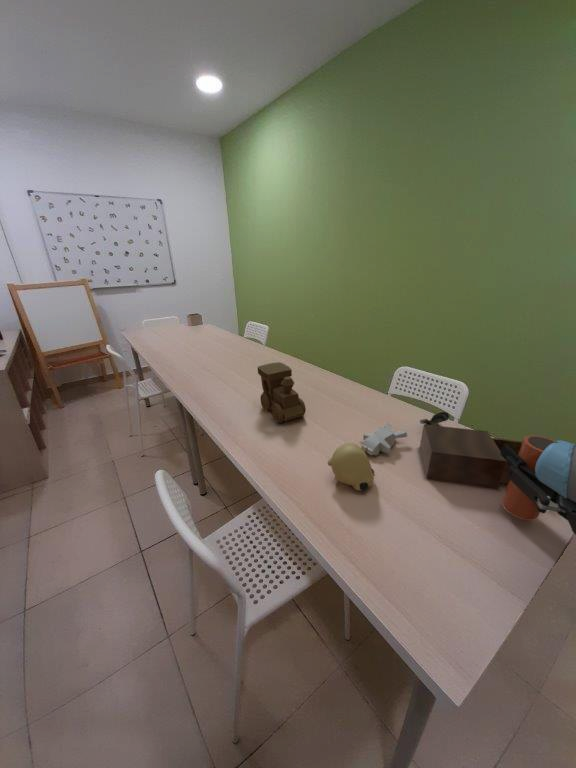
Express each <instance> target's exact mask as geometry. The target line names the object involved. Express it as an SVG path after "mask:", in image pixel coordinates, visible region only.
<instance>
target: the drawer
mask: <svg viewBox="0 0 576 768" xmlns="http://www.w3.org/2000/svg"><path fill="white" fill-rule="evenodd" d="M492 439H493V440H494V442H495V444H496V445H497V447H498V448H499V450H500V451H501V450H502V447H503V444H507V445H508V446H509V447H510V448H511V449H512V450H513V451H514V452H515V453H516V454H519V451H520V448H521V445H522V442H523V440H519V439H510V438H500V437H492ZM508 470H509V466H508V465H507V464H506V465H505V468H504V471H503V474H502V477H501V480H500V483H504V484H508V482H509V480H510V479H509V478H508V477H507V473H508Z"/></svg>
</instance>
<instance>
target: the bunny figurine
mask: <svg viewBox="0 0 576 768" xmlns="http://www.w3.org/2000/svg"><path fill="white" fill-rule="evenodd" d="M392 428H393V424H391V423H390V422H389V423H388V422H387V423H386V424H385V425H384V426H383V427H382V426H380V427H378V428H377V429H375V430H374V433H368V432H365V433H363V435H362V436H363V437H362V438H363V439H362V440H363V443H362V444H361V446H360V447H361V448H362V450H363V451H364V452H365V453H366V452H367V454H369V455H370V456H378V455H379V454H380V452H381V453H384V454H388V455H389V454H390V453H391V452H392V447H393V445H394V444H395V441H396V439H401V438H402V439H403V438H407V437H408V433H407V431H406V430H404V429H401V430H398V431H395V432H393V431H392Z"/></svg>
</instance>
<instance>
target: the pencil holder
mask: <svg viewBox="0 0 576 768" xmlns="http://www.w3.org/2000/svg"><path fill="white" fill-rule="evenodd" d="M522 441H523V442H522V445H521V448H520V451H519V454H518V455H519V456H520V457H521V458H522V459H523V460H524V461H525V462H526V465H525V466H526V467H527V468H529V469H530V470H532V471H534V472H535V466H536V463H537V461H538V459H539V457H540V455H541V454H542V452H543V451H544V450H545V449H546V448H547V447H548V446H549V445H550V444H552V443H554V442H556V441H557V440H555V439H552V438H550V437H547V436H543V435H538V434H537V435H536V434H529V435H525V436H524V437H523V440H522ZM535 473H536V472H535ZM501 504H502V506H503V508H504V509H505V510H506V511H507V512H508V513H509V514H511V515H513V516H515V517H517V518H520V519H522V520H527V521H534V520H537V519H538V518H539V516H540V513H541V512H539V511H538V510H537V509H536V507H535V505H534V503H533V502H532V501H531V500H530V499H529V498H528V497H527V496H526V495H525V494H524V493H523V492H522V491H521V490H520V489H519V488H518V487H517V486H516V485H515V484H514V483H513V482H512V481H511V480H509V482H508V483H507V486H506V489H505V492H504V493H503V496H502V500H501Z"/></svg>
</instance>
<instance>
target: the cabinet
mask: <svg viewBox="0 0 576 768" xmlns="http://www.w3.org/2000/svg"><path fill="white" fill-rule="evenodd" d="M492 438H493V436H491V434H490V433H489V431H488V430H479V429H471V428H462V427H452V426H442V425H441V426H439V425H437V426H434V425H426V424H423V427H422V432H421V438H420V443H419V453H420V458H421V462H422V466H423V470H424V475H425V478H426V479H427V480H433V481H434V480H435V481H438V482H439V481H440V482H448V483H455V484H460V485H467V486H473V487H481V488H482V487H483V488H489V489H495V490H498V489H499V486H500V484H501V482H500V480H501V477H502V474H503V471H504V468H505V465H506V462H505V461H506V460H505V459H504V458H503V457H502V455H501V451H500V450H499V448H498V447H497V445H496V444H495V442H494V440H493V439H492Z"/></svg>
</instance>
